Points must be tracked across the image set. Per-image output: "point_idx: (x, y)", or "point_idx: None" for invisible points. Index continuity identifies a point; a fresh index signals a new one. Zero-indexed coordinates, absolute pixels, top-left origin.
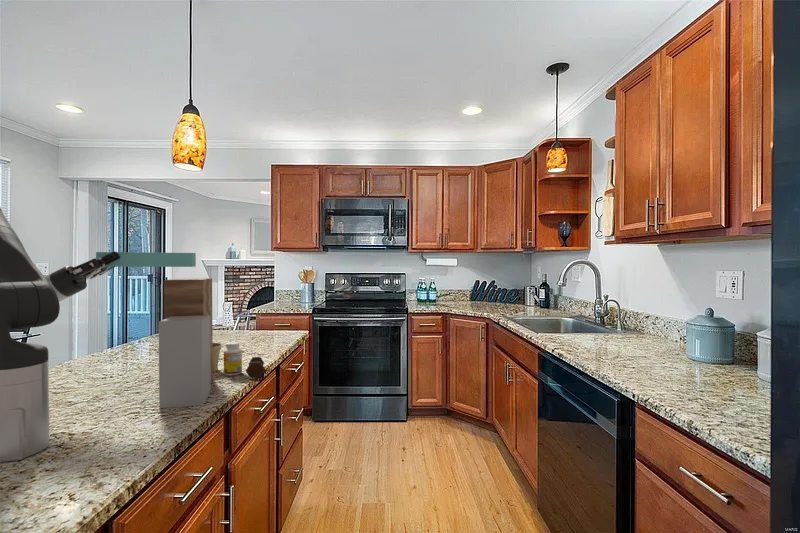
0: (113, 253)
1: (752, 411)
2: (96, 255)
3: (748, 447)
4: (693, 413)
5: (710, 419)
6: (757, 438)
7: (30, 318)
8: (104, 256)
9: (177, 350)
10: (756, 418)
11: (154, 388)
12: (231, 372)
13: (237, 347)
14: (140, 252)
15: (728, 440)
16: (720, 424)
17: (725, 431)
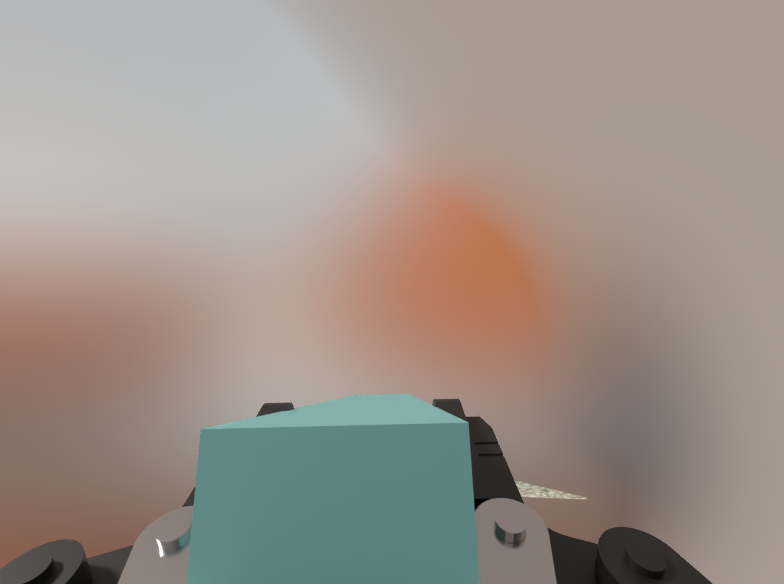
0: (477, 420)
1: (520, 483)
2: (472, 489)
3: (581, 498)
4: (527, 494)
5: (537, 493)
6: (566, 493)
7: None
8: (483, 474)
9: None
10: (532, 485)
11: None
12: None
13: None
14: (418, 399)
15: (572, 498)
16: (546, 493)
17: (557, 495)
